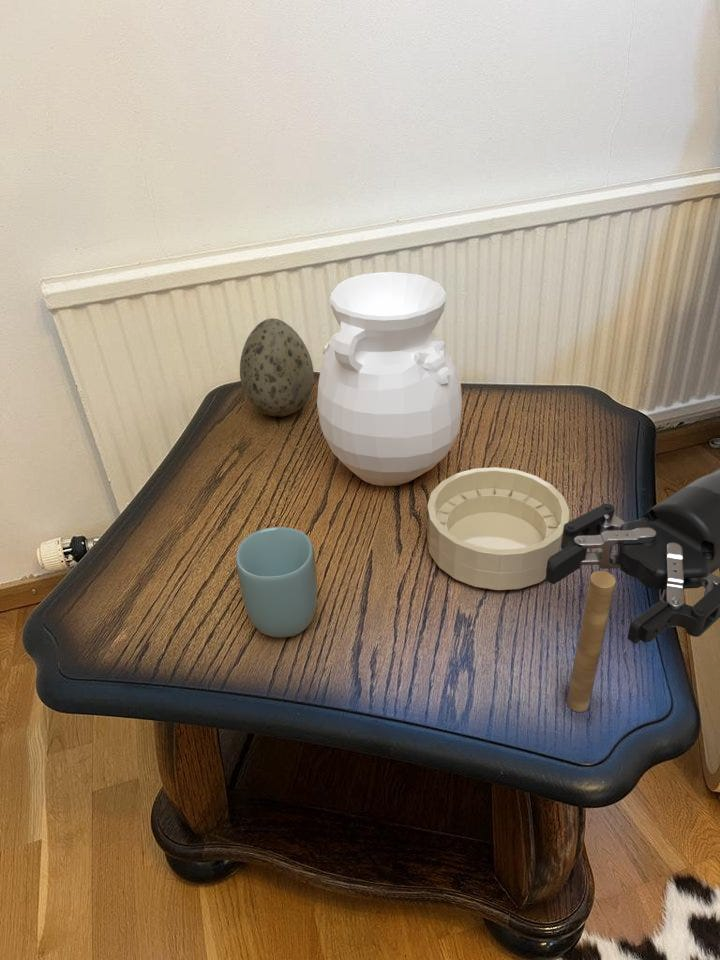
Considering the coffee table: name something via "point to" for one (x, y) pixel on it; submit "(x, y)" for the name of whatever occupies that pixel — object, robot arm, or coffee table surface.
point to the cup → (278, 580)
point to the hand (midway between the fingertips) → (589, 603)
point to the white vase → (388, 379)
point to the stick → (590, 639)
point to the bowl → (495, 527)
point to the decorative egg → (276, 369)
